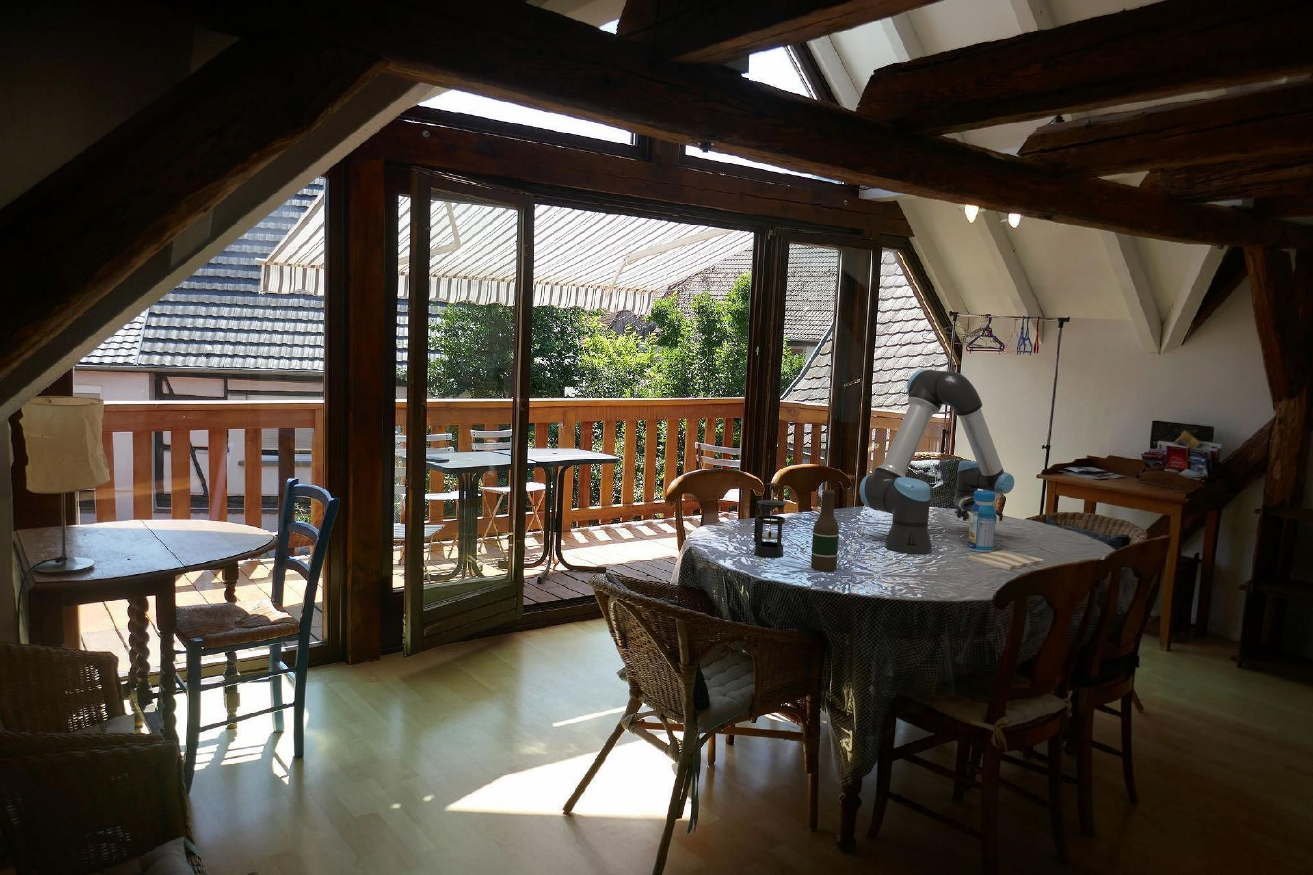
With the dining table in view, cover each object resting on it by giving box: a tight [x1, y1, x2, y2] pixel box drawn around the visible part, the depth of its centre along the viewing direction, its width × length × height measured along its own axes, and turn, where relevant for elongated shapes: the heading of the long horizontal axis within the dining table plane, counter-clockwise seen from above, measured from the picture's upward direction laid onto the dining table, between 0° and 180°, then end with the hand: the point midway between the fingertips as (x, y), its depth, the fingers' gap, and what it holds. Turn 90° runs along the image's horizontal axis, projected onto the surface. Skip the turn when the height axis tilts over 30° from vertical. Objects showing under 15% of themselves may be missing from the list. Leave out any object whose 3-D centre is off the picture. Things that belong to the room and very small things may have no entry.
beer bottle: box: [810, 489, 840, 573], centre depth 287 cm, size 8×8×24 cm
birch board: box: [966, 550, 1045, 571], centre depth 309 cm, size 20×15×1 cm
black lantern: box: [753, 482, 787, 559], centre depth 303 cm, size 12×9×23 cm
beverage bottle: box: [967, 489, 997, 553], centre depth 323 cm, size 8×8×20 cm
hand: (984, 519), depth 320 cm, fingers closed on beverage bottle, 8 cm apart
